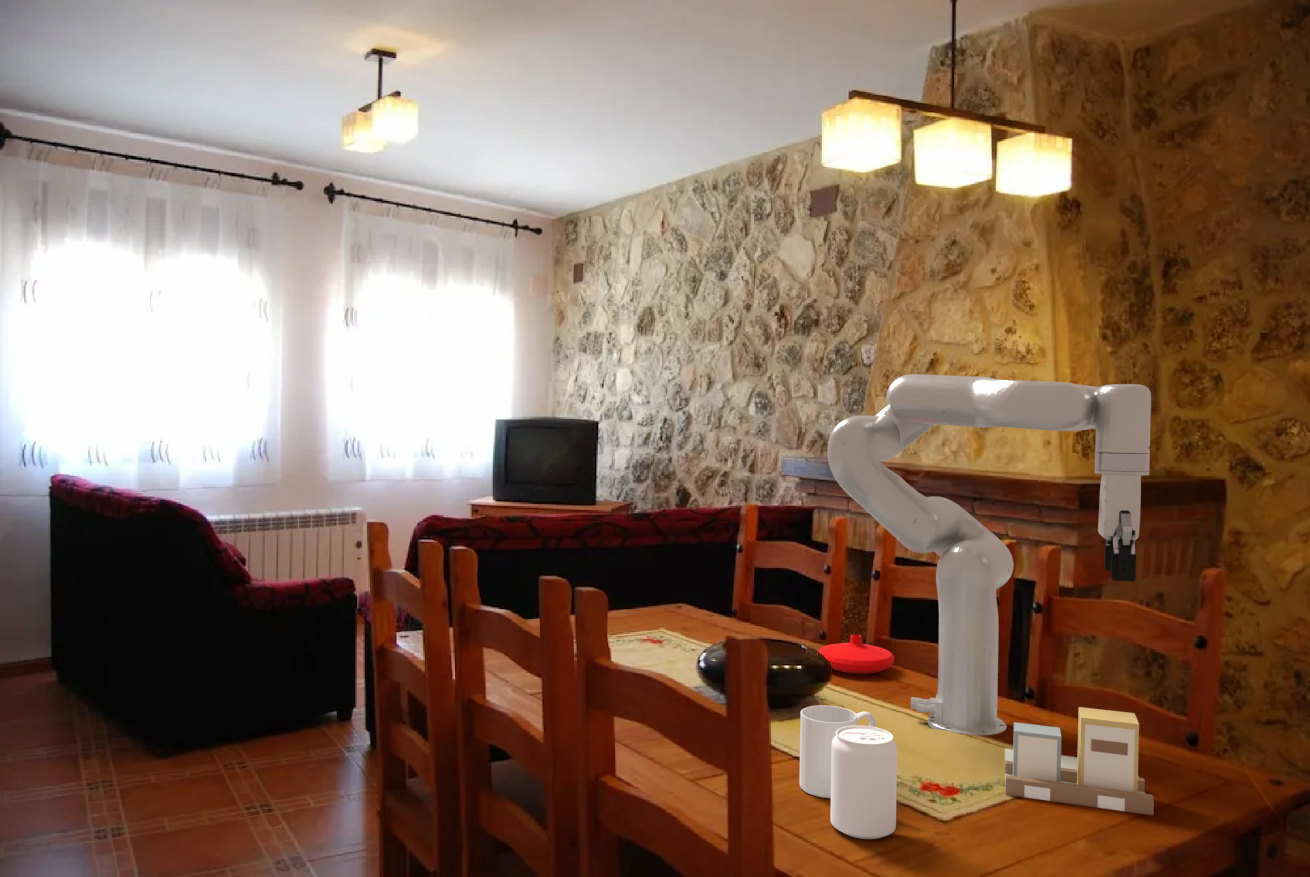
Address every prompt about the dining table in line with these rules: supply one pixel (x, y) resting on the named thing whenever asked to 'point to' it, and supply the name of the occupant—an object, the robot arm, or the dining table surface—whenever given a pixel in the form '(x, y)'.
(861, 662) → the red disc with nozzle
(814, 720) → the mug
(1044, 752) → the box
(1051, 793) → the shelf
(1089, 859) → the dining table surface
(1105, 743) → the carton
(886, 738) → the beverage can
